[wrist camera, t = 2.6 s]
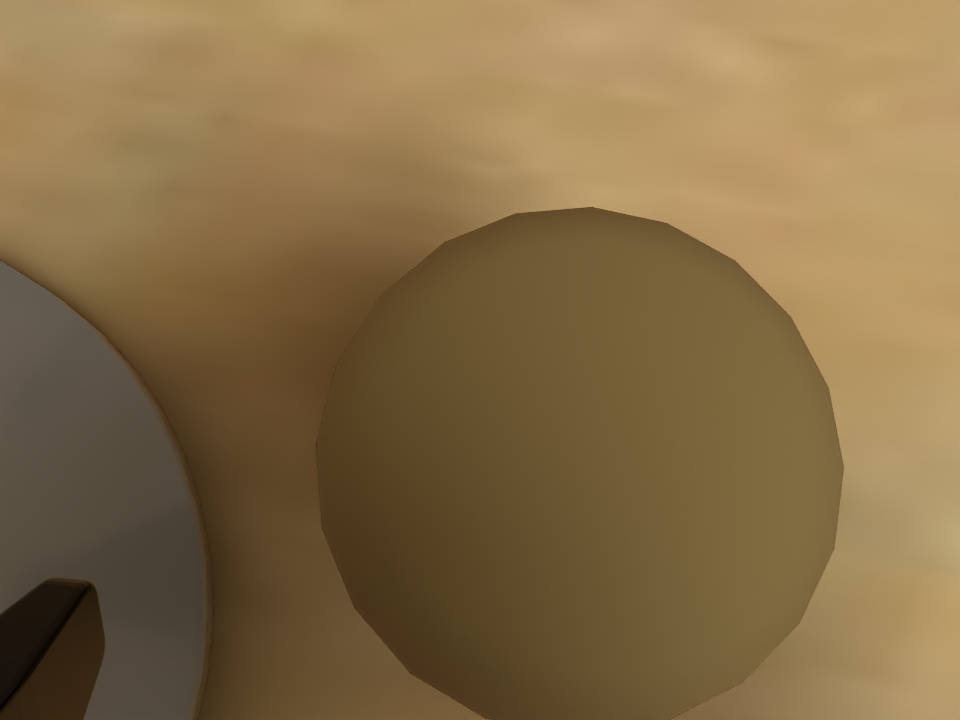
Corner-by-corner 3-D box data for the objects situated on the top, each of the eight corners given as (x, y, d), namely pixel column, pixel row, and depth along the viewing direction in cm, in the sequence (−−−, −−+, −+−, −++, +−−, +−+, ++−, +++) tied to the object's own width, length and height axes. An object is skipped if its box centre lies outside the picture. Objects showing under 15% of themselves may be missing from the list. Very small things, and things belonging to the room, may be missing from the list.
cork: (292, 534, 18) (84, 493, 7) (482, 307, 19) (541, -10, 9) (530, 734, 17) (682, 1010, 7) (711, 488, 19) (1085, 390, 8)
